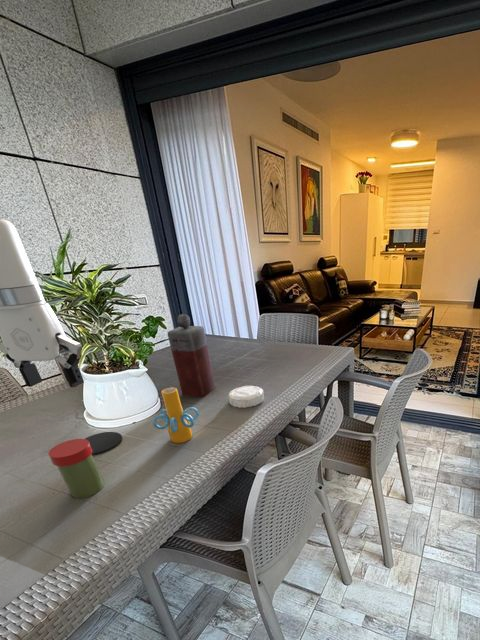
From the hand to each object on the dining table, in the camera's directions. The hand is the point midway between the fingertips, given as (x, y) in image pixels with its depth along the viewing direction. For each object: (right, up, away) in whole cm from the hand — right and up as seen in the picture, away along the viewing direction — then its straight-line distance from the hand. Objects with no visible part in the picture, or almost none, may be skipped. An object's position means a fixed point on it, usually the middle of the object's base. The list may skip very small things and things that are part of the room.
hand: (56, 384), depth 72 cm
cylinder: (+14, -12, +30) cm, 35 cm away
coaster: (-9, -14, +28) cm, 33 cm away
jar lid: (-1, -14, +5) cm, 15 cm away
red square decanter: (+8, +4, +60) cm, 61 cm away
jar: (0, -23, +11) cm, 26 cm away
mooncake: (+29, 0, +51) cm, 58 cm away
